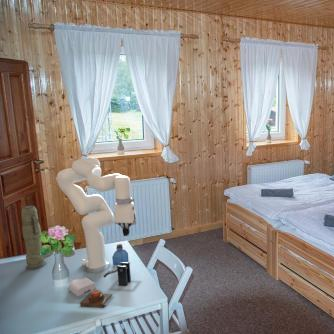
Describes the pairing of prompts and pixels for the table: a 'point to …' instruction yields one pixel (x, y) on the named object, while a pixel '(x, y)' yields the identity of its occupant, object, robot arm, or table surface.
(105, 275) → the lever
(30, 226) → the stone head statue
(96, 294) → the button
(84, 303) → the button block
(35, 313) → the table surface
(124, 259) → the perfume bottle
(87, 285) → the pale pink block
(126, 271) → the tap bracket
